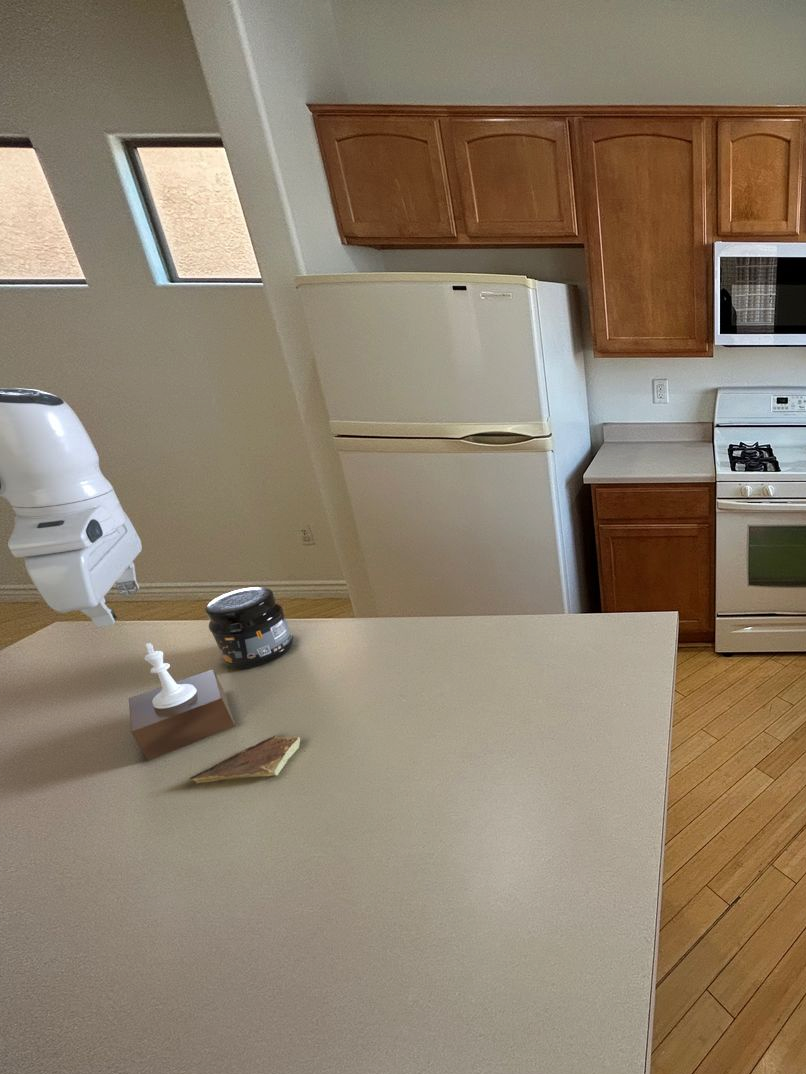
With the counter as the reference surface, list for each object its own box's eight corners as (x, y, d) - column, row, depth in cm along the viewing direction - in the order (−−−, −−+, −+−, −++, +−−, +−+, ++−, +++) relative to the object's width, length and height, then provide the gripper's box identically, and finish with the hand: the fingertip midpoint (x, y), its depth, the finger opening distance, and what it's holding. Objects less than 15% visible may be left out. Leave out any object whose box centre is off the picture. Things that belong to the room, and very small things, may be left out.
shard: (192, 786, 77) (187, 777, 76) (231, 745, 84) (226, 736, 83) (276, 780, 78) (272, 771, 77) (307, 740, 85) (303, 731, 84)
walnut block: (148, 763, 80) (130, 732, 78) (145, 727, 87) (128, 698, 84) (236, 727, 87) (221, 698, 84) (226, 697, 93) (213, 668, 91)
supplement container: (227, 650, 105) (203, 596, 100) (295, 632, 111) (275, 579, 106) (224, 679, 97) (198, 622, 92) (297, 658, 103) (276, 603, 98)
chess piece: (152, 713, 81) (122, 658, 77) (154, 696, 84) (125, 642, 80) (196, 698, 84) (170, 644, 80) (196, 682, 87) (170, 630, 83)
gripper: (72, 495, 78) (114, 581, 84) (-1, 551, 62) (56, 652, 68) (133, 489, 81) (169, 572, 87) (77, 540, 65) (126, 638, 71)
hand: (119, 607), depth 77 cm, fingers open, 8 cm apart
